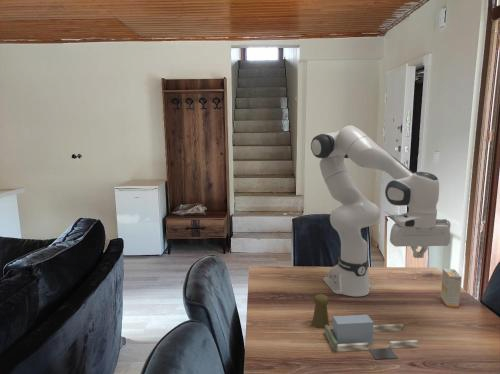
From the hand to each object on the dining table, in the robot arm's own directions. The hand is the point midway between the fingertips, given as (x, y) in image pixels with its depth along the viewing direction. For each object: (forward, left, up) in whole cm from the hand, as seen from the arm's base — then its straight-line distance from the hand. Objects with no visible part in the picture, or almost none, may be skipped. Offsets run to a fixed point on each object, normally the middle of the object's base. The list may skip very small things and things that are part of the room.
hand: (418, 257), depth 127 cm
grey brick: (+1, -27, -26) cm, 37 cm away
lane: (+2, -21, -26) cm, 33 cm away
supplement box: (-8, +27, -26) cm, 38 cm away
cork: (-12, -31, -26) cm, 42 cm away
